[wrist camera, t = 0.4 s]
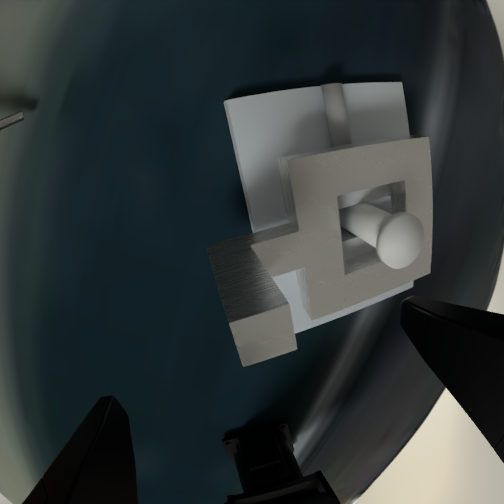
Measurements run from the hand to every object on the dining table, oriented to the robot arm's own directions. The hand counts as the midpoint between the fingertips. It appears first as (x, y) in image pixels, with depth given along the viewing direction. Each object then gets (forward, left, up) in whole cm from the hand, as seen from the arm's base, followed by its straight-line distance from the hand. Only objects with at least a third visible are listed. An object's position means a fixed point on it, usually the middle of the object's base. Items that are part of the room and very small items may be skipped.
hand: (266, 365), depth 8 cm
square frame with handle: (0, -8, -9) cm, 12 cm away
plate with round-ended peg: (-1, -8, -12) cm, 14 cm away
